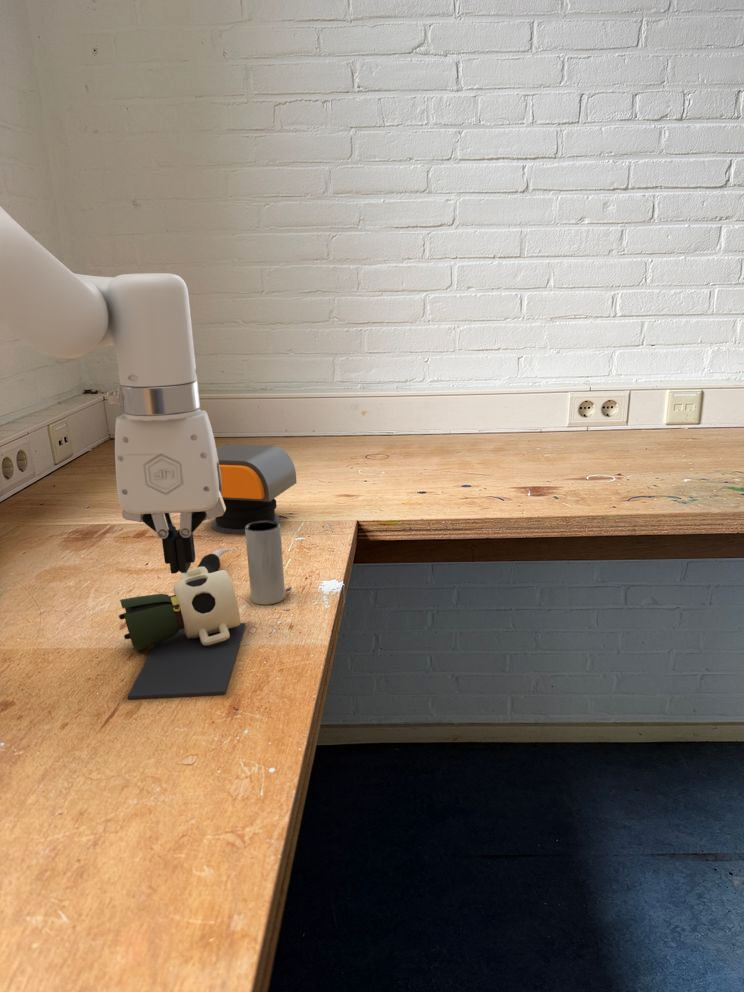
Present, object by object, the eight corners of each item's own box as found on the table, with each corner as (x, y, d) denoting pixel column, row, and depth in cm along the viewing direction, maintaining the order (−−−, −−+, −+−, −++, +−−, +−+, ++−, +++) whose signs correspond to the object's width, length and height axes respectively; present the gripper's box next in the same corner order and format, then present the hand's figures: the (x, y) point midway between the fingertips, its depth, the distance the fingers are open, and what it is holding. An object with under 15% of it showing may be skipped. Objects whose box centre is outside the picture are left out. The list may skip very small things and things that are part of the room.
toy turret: (176, 506, 150) (168, 440, 146) (301, 513, 144) (296, 444, 140) (133, 530, 137) (123, 458, 133) (269, 539, 131) (262, 463, 127)
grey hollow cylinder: (245, 603, 106) (238, 529, 102) (260, 590, 110) (254, 519, 107) (276, 606, 104) (270, 532, 101) (291, 593, 109) (285, 521, 105)
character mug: (107, 572, 92) (218, 545, 96) (116, 606, 97) (221, 578, 102) (127, 651, 86) (244, 617, 91) (136, 681, 92) (246, 649, 96)
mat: (127, 699, 82) (127, 696, 82) (163, 629, 98) (163, 626, 98) (225, 694, 83) (224, 691, 83) (245, 625, 99) (245, 622, 99)
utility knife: (209, 558, 123) (207, 540, 122) (235, 557, 123) (233, 539, 122) (178, 616, 102) (175, 594, 101) (209, 615, 102) (207, 593, 101)
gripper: (74, 409, 77) (101, 584, 83) (230, 404, 78) (246, 578, 84) (97, 397, 84) (121, 560, 90) (240, 393, 85) (254, 554, 91)
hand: (181, 568), depth 87 cm, fingers closed
